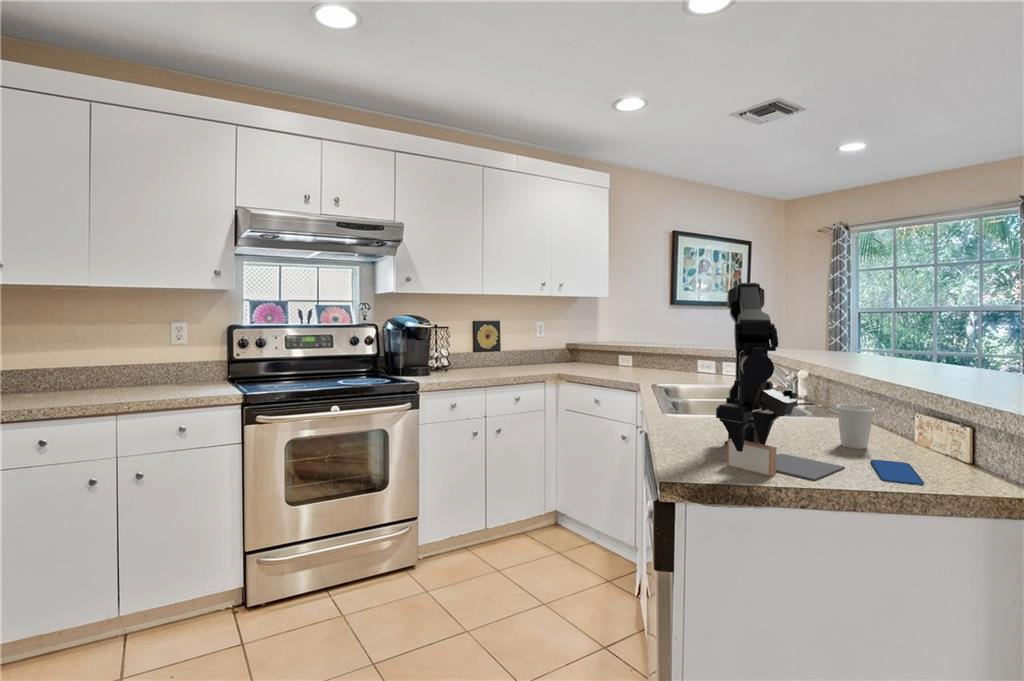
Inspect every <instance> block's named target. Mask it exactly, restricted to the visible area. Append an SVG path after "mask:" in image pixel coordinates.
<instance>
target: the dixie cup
mask: <svg viewBox="0 0 1024 681" xmlns="http://www.w3.org/2000/svg"><path fill="white" fill-rule="evenodd" d="M835 408H837V409H836V410H837V419H838V426H839V427H838V428H839V429H838V430H839V437H840V439H839V440H840V445H841V446H842V447H845V448H850V449H859V450H861V449H862V450H864V449H867V448H868V445H869V440H870V435H871V430H872V428H871V427H872V424H873V417H874V412H875V410H876V409H875V408H874V407H872V406H870V405H865V404H855V403H840V404H837V405H836V406H835Z"/></svg>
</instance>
